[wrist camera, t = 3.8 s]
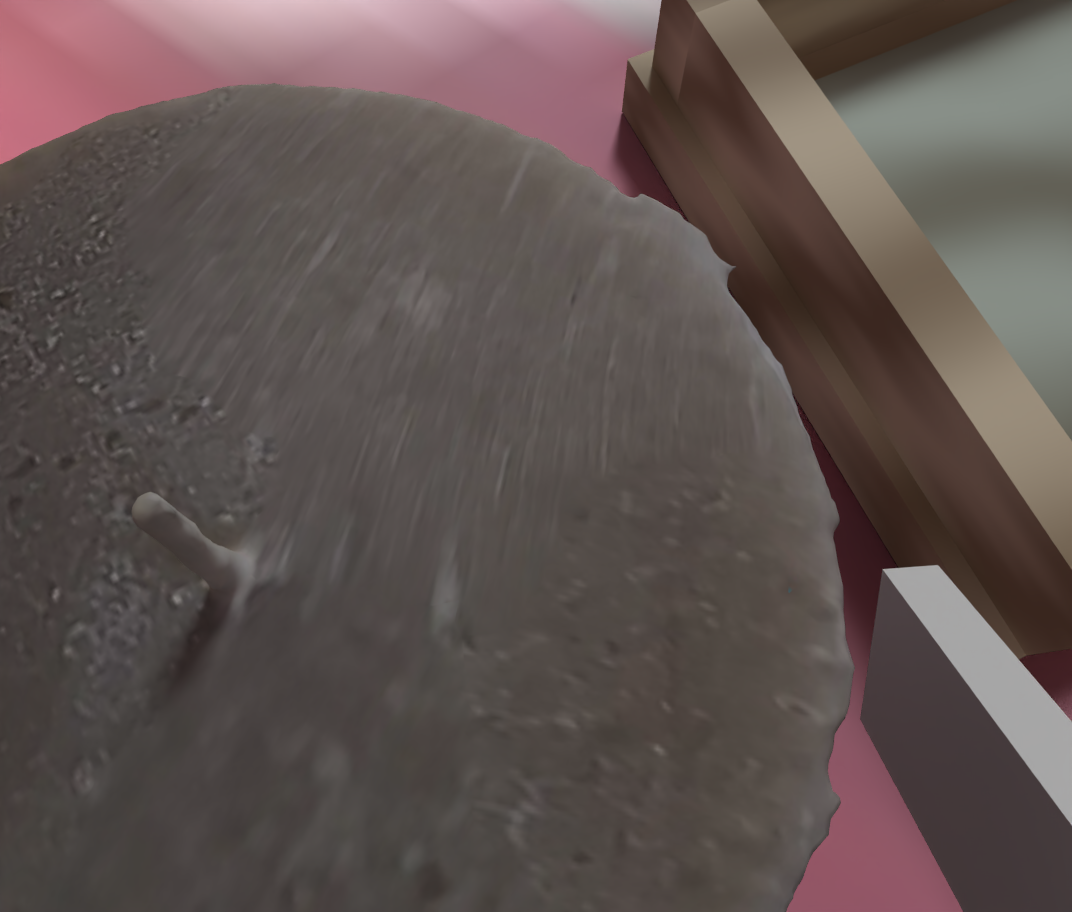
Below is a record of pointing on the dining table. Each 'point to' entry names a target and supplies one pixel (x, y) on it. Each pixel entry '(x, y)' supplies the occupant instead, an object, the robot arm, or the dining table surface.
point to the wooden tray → (899, 257)
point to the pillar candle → (394, 529)
